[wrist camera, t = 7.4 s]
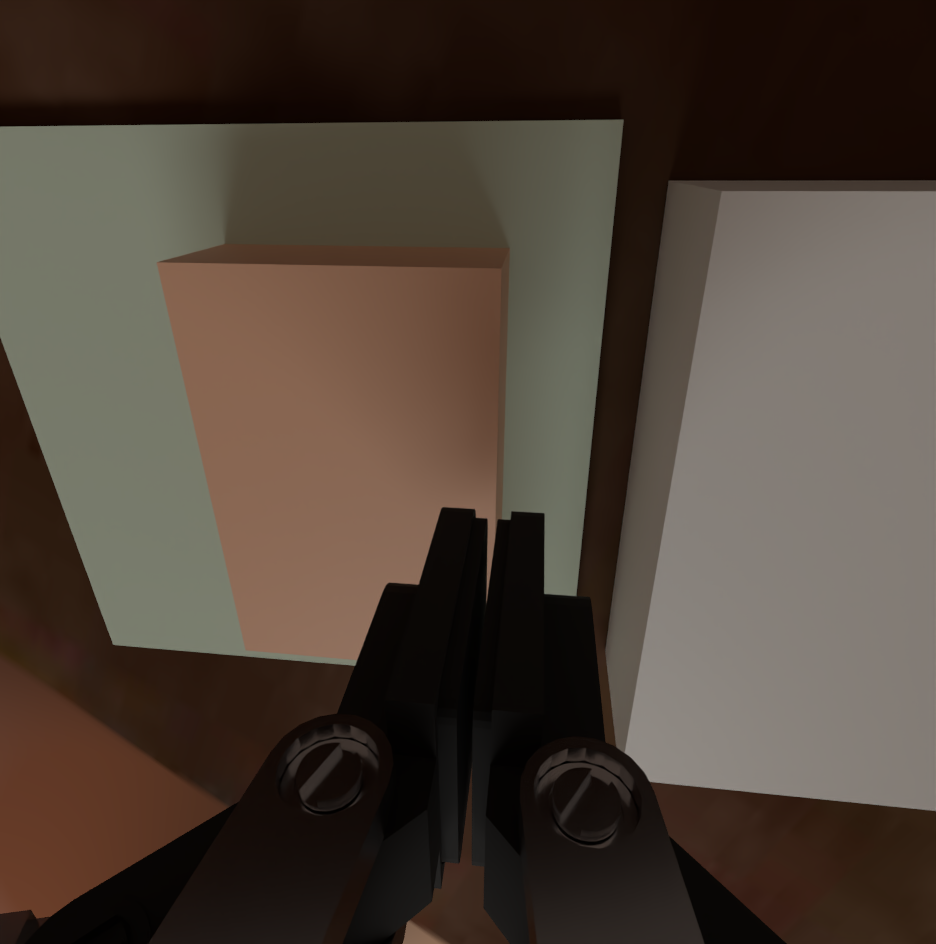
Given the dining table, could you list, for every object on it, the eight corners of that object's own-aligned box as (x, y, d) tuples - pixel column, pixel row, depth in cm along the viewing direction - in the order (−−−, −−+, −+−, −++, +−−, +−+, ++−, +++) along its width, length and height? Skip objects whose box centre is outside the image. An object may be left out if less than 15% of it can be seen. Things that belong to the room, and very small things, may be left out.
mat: (567, 673, 18) (567, 683, 17) (121, 635, 19) (113, 644, 19) (621, 120, 11) (623, 119, 11) (-59, 128, 13) (-77, 127, 12)
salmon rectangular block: (245, 650, 15) (285, 585, 17) (491, 671, 14) (499, 602, 16) (156, 262, 10) (224, 244, 13) (501, 268, 10) (510, 247, 12)
